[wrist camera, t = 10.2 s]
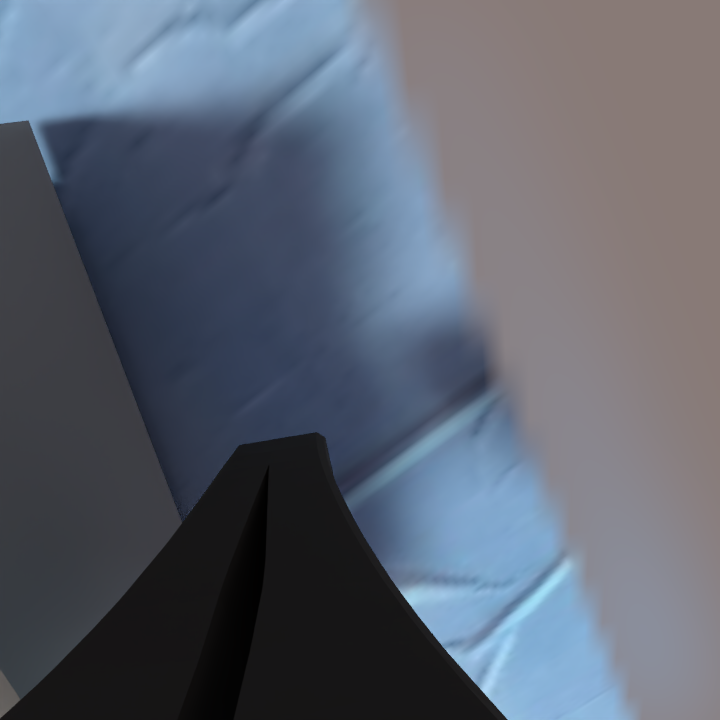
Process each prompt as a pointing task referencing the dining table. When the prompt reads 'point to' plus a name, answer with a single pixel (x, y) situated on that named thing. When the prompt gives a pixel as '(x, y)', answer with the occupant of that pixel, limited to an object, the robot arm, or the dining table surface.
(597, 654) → the dining table surface
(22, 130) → the grey drawer
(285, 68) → the dining table surface
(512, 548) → the dining table surface
